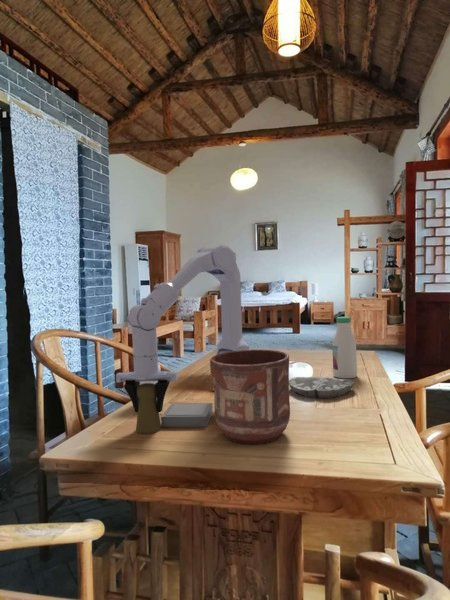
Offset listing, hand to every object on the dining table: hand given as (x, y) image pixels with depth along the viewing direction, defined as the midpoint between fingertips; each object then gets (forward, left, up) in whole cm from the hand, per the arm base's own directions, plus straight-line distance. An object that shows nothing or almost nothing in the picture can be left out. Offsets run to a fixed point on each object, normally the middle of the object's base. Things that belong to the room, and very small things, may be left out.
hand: (148, 411), depth 109 cm
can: (+6, -22, -5) cm, 23 cm away
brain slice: (-43, -31, -5) cm, 53 cm away
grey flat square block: (-8, -7, -4) cm, 12 cm away
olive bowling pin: (0, 0, -5) cm, 5 cm away
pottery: (-25, +4, -5) cm, 26 cm away
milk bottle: (-53, -50, -5) cm, 73 cm away
